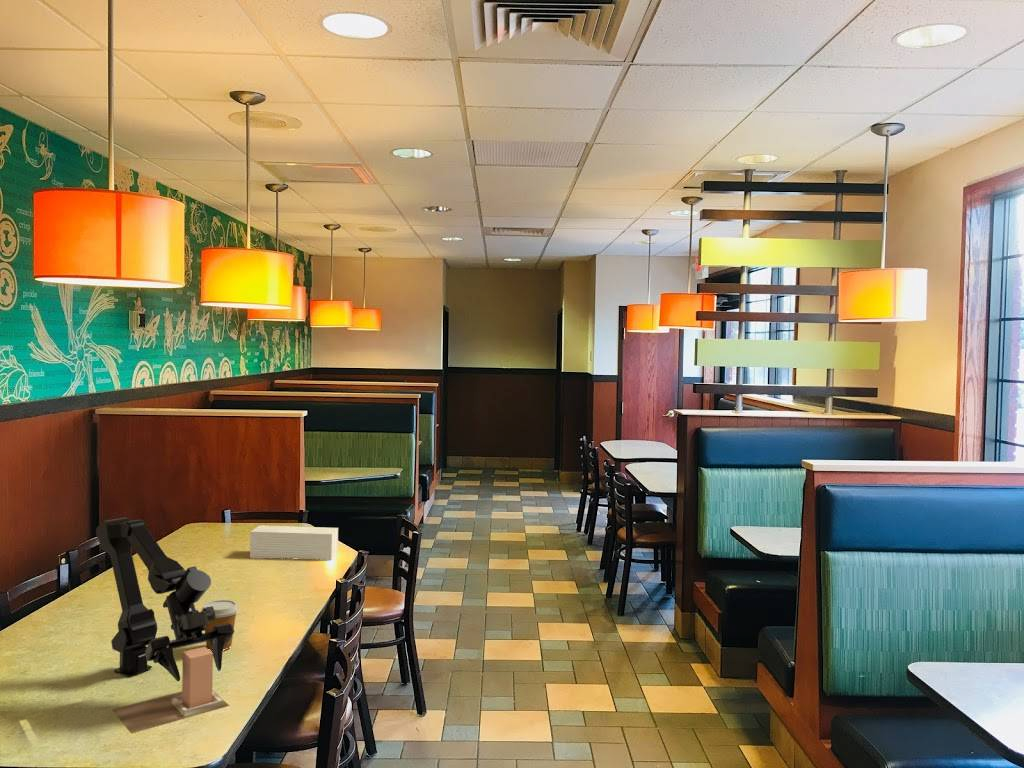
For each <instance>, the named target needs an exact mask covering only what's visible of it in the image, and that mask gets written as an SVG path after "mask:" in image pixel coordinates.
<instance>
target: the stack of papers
mask: <svg viewBox="0 0 1024 768" xmlns="http://www.w3.org/2000/svg"><path fill="white" fill-rule="evenodd" d="M249 533H250V535H249V537H250V539H249V542H250V544H249V548H250V549H249V558H250V559H263V558H281V559H280V560H286V559H285V558H298V559H322V560H321V561H327V560H332V561H333V560H334V558H335V557H336V556H337V555H338V554H337V553H339V552H338V551H339V550H338V549H339V547H338V546H339V545H338V544H339V527H324V526H323V527H319V526H317V527H316V526H315V527H314V526H290V525H258V526H256V527H255V528H253V529H251V531H250V532H249ZM336 554H337V555H336ZM335 555H336V556H335ZM334 556H335V557H334ZM283 558H284V559H283Z"/></svg>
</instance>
